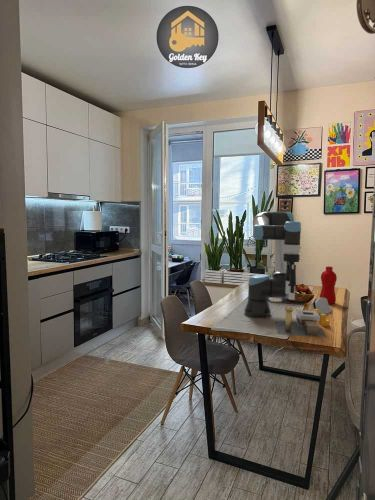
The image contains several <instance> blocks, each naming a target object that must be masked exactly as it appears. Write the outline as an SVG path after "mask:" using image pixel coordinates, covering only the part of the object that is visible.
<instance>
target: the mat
mask: <svg viewBox="0 0 375 500" xmlns="http://www.w3.org/2000/svg"><path fill="white" fill-rule="evenodd" d="M274 323H275V326H276V330H277V333H278V335H286V336H287V335H288V336H302V337H313V338H315V337H317V338H327V336H326V334H324V332H323V330H322V329H321V328H320V330H318V336H314V335H307V334H306V329H299V328H298V326H297V324H296V321H292V327H291V333H287V332H285V320H274Z"/></svg>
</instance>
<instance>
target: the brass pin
mask: <svg viewBox="0 0 375 500" xmlns="http://www.w3.org/2000/svg"><path fill="white" fill-rule="evenodd" d="M284 311H285V320H284V321H285V332H287V333H291V327H292V322H293V311H294V307H292V306H285V307H284Z"/></svg>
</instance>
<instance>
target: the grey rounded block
mask: <svg viewBox="0 0 375 500" xmlns="http://www.w3.org/2000/svg"><path fill="white" fill-rule="evenodd" d="M310 304H311V309H312V310H311V311H313V309H318V310H319V315H320V314H326V315H327V314H329V313H330V314H331V312H333V309H332V307H330V304H328V301H327V299H326V298H320V297H318V298H315V299H313V300H312V302H311V303H310Z"/></svg>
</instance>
